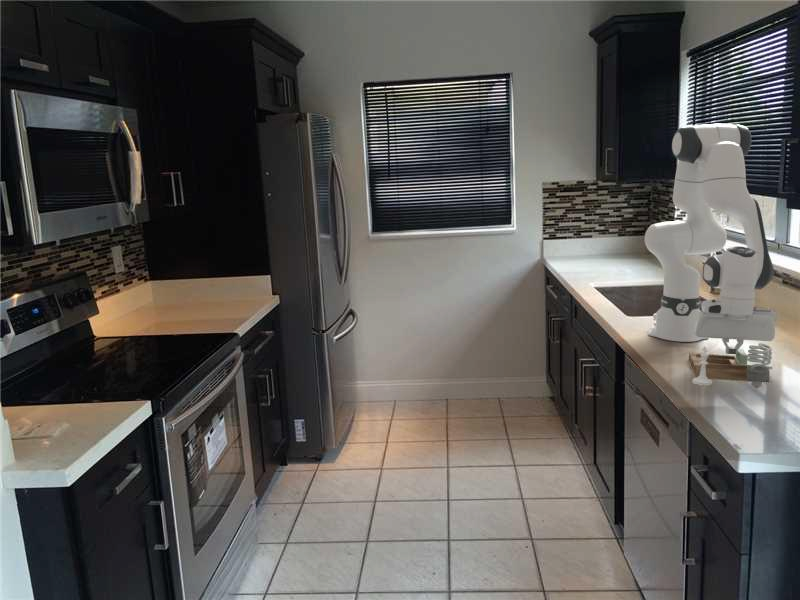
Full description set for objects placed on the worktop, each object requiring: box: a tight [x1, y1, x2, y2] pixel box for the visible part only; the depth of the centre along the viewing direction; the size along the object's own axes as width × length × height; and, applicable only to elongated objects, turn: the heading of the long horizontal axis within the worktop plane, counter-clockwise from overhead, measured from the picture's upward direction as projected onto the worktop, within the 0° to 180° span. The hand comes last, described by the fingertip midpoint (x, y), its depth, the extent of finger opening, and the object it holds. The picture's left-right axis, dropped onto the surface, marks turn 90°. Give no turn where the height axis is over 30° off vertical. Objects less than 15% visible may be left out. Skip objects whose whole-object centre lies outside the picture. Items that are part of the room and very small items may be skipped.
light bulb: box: [746, 342, 773, 389], centre depth 174 cm, size 6×6×12 cm
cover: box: [733, 348, 773, 370], centre depth 187 cm, size 8×8×3 cm
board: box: [688, 352, 771, 384], centre depth 189 cm, size 16×18×3 cm
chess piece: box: [691, 346, 713, 387], centre depth 179 cm, size 5×5×10 cm
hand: (731, 353), depth 188 cm, fingers closed
